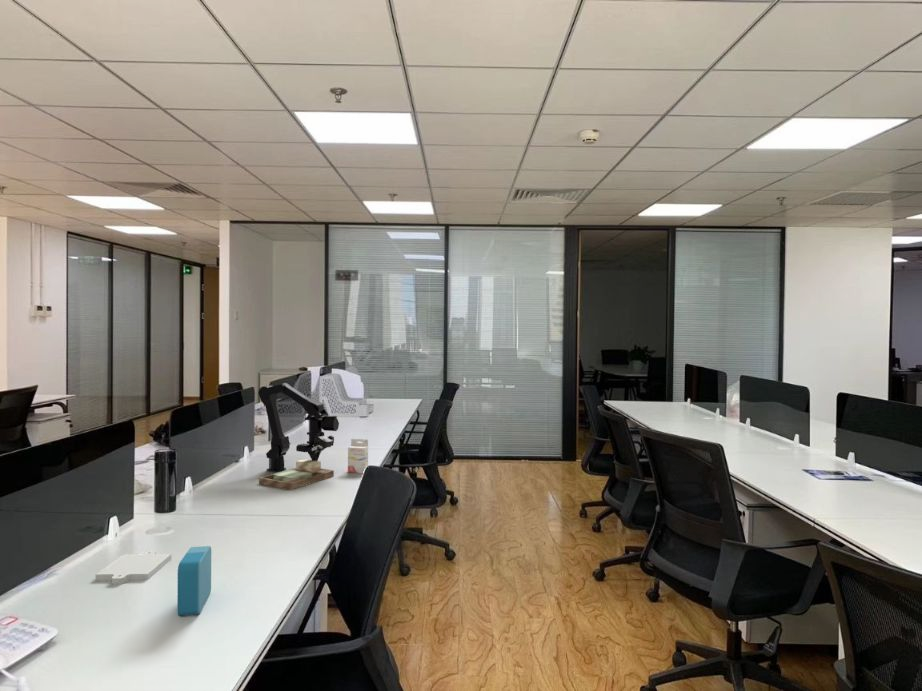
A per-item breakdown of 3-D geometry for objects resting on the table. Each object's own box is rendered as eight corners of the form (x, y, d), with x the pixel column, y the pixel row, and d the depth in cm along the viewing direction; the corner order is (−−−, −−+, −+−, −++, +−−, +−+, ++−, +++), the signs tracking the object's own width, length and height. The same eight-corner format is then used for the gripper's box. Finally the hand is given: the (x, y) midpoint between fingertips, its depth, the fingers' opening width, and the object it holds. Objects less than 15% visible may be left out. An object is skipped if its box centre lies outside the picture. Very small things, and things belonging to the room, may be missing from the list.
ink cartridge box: (347, 472, 257) (347, 440, 256) (350, 470, 262) (350, 438, 261) (365, 473, 256) (365, 441, 255) (368, 470, 261) (368, 439, 260)
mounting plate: (128, 557, 158) (128, 550, 158) (175, 557, 159) (175, 550, 158) (89, 586, 140) (89, 578, 140) (142, 585, 141) (142, 578, 141)
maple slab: (296, 468, 252) (296, 461, 252) (304, 466, 256) (304, 459, 256) (312, 471, 247) (312, 463, 247) (320, 469, 252) (320, 461, 251)
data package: (191, 594, 136) (191, 544, 135) (211, 592, 137) (211, 543, 136) (177, 618, 124) (177, 564, 124) (199, 616, 125) (199, 563, 125)
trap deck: (259, 483, 235) (259, 477, 235) (303, 470, 258) (303, 465, 258) (290, 489, 227) (290, 483, 227) (333, 476, 250) (333, 470, 250)
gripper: (314, 434, 243) (314, 470, 243) (342, 428, 260) (342, 462, 260) (295, 432, 248) (295, 467, 249) (324, 426, 265) (323, 459, 265)
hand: (315, 464), depth 255 cm, fingers closed
